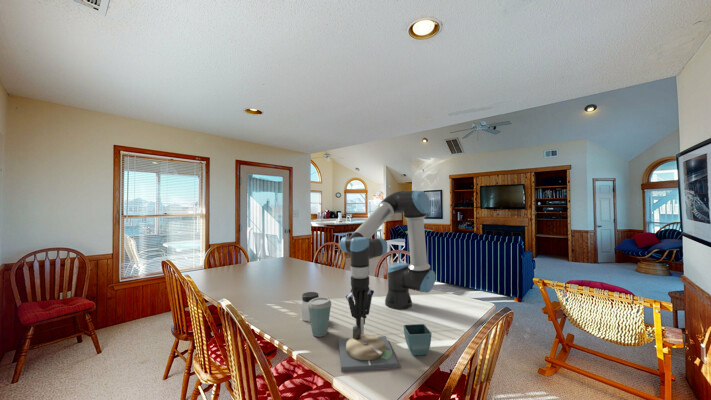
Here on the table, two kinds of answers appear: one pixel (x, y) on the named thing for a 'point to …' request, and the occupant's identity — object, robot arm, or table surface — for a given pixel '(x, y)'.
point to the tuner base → (356, 364)
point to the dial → (364, 346)
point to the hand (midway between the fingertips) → (360, 333)
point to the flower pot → (417, 338)
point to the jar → (305, 299)
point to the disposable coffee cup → (319, 315)
